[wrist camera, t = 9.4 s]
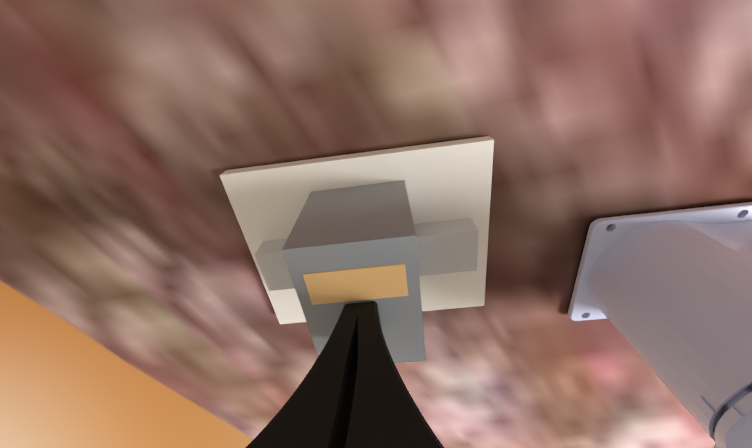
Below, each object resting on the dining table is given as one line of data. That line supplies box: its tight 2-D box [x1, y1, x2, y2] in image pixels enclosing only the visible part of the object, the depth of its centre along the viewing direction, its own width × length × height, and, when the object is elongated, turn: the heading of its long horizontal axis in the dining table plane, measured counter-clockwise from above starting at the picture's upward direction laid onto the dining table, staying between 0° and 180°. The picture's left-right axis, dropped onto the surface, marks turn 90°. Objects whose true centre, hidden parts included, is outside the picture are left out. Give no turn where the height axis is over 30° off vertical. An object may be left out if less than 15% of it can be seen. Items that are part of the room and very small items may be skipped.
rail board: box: [219, 136, 494, 324], centre depth 17 cm, size 14×11×2 cm
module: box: [282, 180, 426, 363], centre depth 15 cm, size 5×7×6 cm
